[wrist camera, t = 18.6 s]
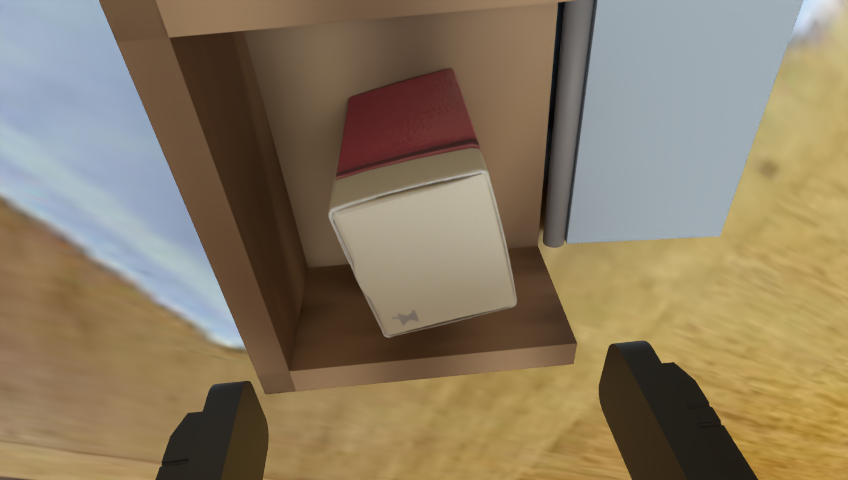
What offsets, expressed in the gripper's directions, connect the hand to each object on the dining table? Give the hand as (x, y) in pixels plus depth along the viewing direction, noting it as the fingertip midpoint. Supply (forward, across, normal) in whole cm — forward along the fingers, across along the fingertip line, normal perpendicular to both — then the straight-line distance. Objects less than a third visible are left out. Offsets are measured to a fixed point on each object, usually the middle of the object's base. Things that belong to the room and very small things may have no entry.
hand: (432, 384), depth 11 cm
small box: (+12, -1, -1) cm, 12 cm away
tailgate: (+12, -7, -1) cm, 13 cm away
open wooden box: (+13, 0, -1) cm, 13 cm away
